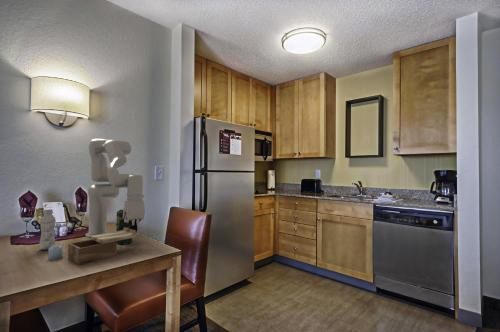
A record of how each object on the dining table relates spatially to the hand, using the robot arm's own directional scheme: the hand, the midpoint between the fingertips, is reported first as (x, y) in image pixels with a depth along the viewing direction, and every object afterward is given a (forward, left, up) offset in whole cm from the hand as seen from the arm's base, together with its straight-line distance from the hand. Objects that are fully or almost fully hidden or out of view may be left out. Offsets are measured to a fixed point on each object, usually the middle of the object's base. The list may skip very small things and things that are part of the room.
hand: (133, 232), depth 140 cm
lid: (0, -10, -1) cm, 10 cm away
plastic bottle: (-30, -29, -8) cm, 43 cm away
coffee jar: (-13, +2, -8) cm, 16 cm away
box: (0, -20, -8) cm, 22 cm away
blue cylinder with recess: (-12, -31, -8) cm, 35 cm away
